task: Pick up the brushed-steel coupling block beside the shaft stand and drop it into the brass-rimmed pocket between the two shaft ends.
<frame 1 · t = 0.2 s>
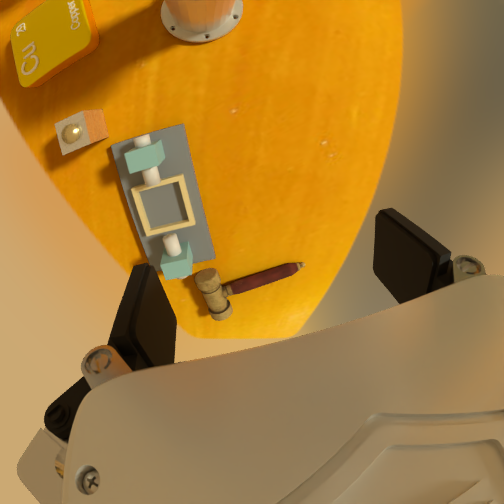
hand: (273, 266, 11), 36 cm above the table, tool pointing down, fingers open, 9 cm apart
element tile: (57, 37, 27), on the table
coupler: (92, 127, 37), on the table
shaft stand: (165, 201, 46), on the table
gavel: (252, 275, 56), on the table
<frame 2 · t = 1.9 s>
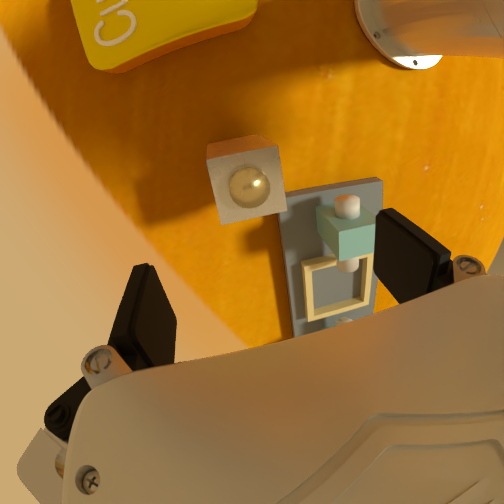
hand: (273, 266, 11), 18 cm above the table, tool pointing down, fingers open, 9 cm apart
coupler: (238, 163, 26), on the table
shaft stand: (332, 275, 35), on the table
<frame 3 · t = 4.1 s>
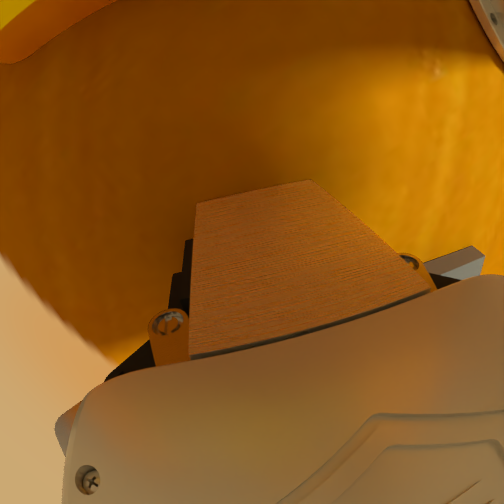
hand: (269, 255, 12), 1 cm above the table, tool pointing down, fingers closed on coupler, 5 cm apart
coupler: (263, 241, 13), on the table, touching gripper
shaft stand: (386, 374, 21), on the table
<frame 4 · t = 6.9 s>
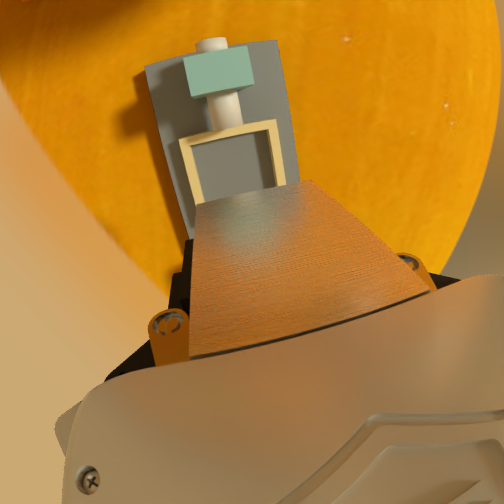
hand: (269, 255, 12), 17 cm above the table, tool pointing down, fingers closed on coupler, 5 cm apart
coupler: (263, 242, 13), point 16 cm above the table, touching gripper
shaft stand: (234, 167, 27), on the table
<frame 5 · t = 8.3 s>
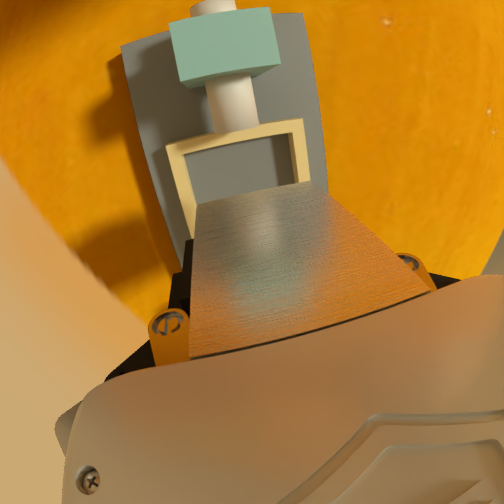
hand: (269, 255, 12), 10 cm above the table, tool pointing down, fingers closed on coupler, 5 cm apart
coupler: (263, 242, 13), point 9 cm above the table, touching gripper
shaft stand: (242, 182, 20), on the table
when the fingers open (5 cm above the table, at t = 10.1 s): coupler drops 2 cm, resting on shaft stand.
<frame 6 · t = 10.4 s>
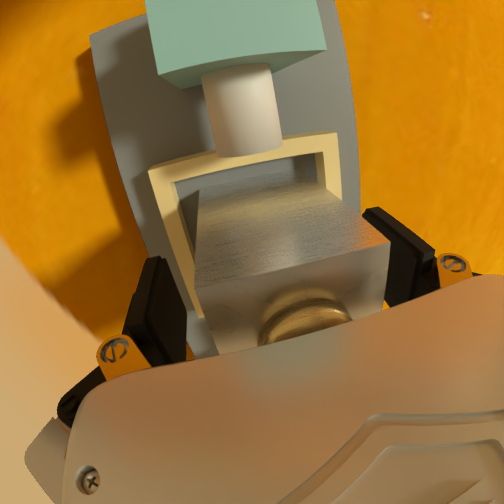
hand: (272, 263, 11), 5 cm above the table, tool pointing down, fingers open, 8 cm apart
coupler: (258, 223, 15), point 1 cm above the table, touching shaft stand
shaft stand: (252, 214, 16), on the table
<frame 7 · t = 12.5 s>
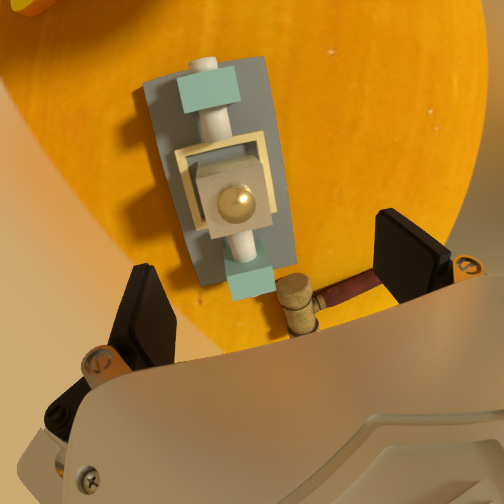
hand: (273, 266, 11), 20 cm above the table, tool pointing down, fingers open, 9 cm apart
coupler: (228, 178, 28), point 1 cm above the table, touching shaft stand
shaft stand: (226, 175, 29), on the table
gavel: (346, 280, 40), on the table
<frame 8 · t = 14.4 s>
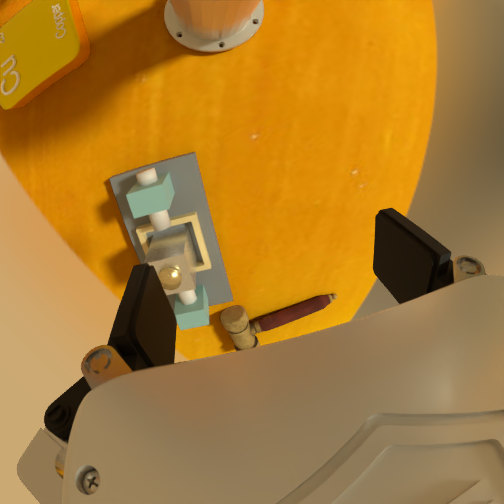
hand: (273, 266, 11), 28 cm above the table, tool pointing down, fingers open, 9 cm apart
element tile: (42, 47, 23), on the table
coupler: (175, 245, 39), point 1 cm above the table, touching shaft stand
shaft stand: (175, 241, 41), on the table
gavel: (281, 309, 51), on the table
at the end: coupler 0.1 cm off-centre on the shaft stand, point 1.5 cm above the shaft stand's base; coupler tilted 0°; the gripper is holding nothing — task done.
